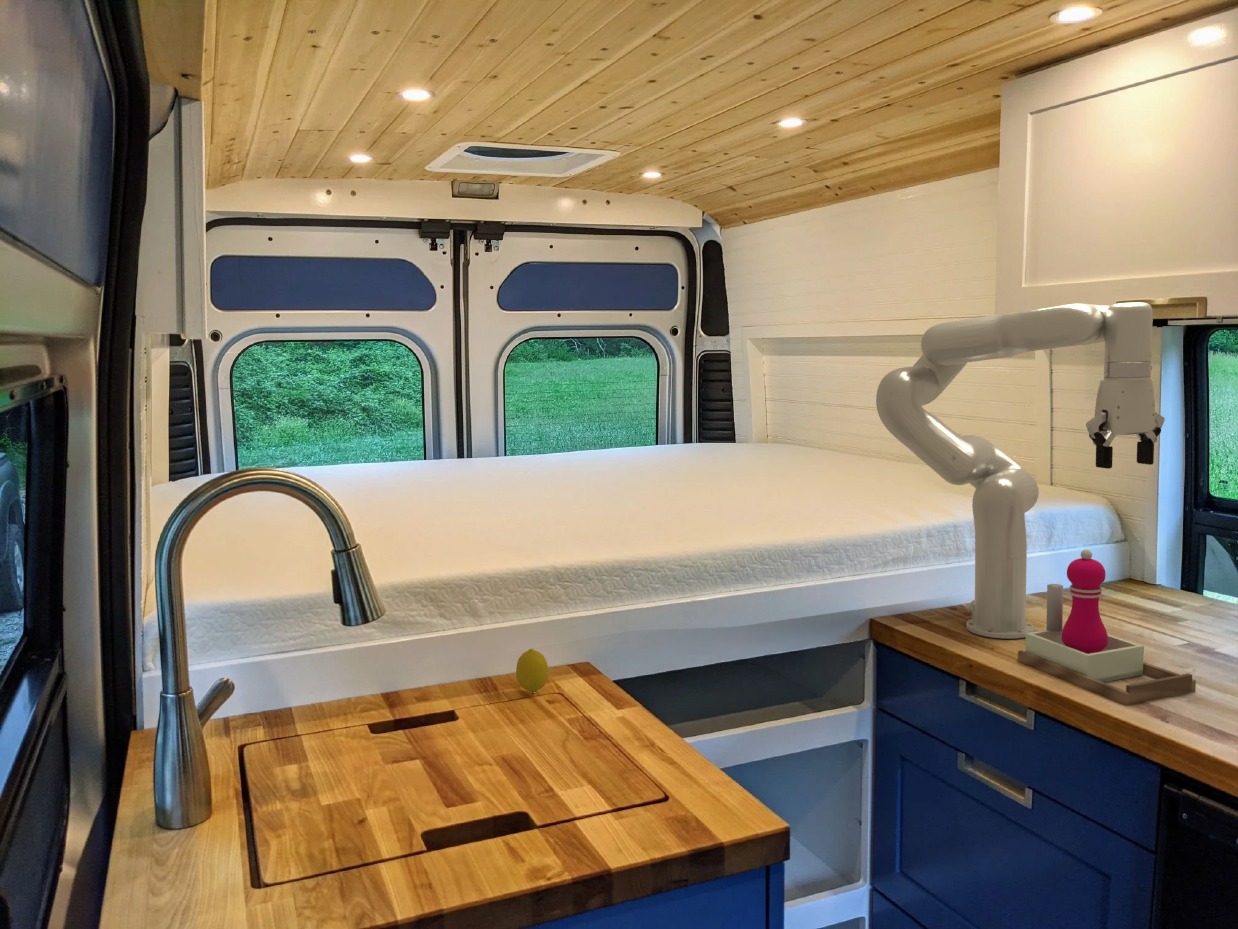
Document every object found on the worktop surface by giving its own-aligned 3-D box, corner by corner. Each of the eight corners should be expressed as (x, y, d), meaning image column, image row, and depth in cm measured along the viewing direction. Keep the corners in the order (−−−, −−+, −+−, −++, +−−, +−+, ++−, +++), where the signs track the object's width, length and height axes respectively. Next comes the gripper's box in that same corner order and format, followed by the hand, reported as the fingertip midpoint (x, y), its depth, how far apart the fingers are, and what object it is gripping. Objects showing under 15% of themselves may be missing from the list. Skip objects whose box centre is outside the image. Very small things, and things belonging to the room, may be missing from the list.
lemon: (548, 698, 165) (546, 653, 164) (515, 700, 165) (513, 654, 164) (550, 687, 171) (548, 643, 170) (519, 688, 171) (516, 644, 170)
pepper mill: (1115, 669, 164) (1118, 553, 161) (1072, 670, 164) (1074, 555, 161) (1095, 655, 171) (1097, 544, 168) (1054, 657, 171) (1055, 546, 169)
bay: (1017, 667, 172) (1018, 645, 172) (1081, 656, 177) (1081, 634, 177) (1125, 712, 150) (1126, 687, 150) (1195, 698, 155) (1196, 674, 155)
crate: (1021, 659, 173) (1022, 588, 171) (1074, 649, 177) (1076, 580, 175) (1086, 685, 159) (1088, 608, 157) (1142, 675, 163) (1145, 599, 161)
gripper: (1146, 369, 181) (1143, 460, 183) (1073, 373, 175) (1071, 467, 177) (1181, 370, 174) (1178, 464, 176) (1106, 374, 168) (1104, 471, 170)
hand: (1124, 465), depth 177 cm, fingers open, 9 cm apart
